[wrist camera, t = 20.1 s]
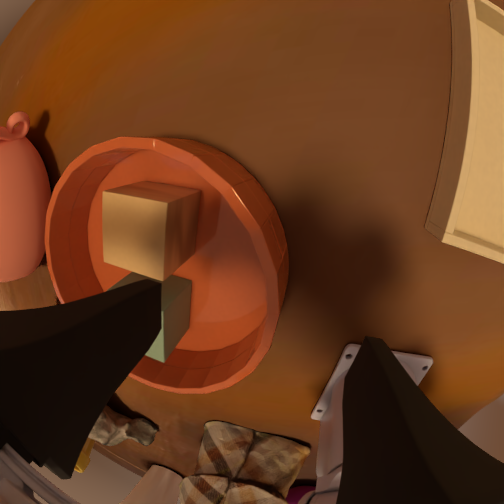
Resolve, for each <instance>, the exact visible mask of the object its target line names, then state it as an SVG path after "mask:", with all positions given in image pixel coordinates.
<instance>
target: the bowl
mask: <svg viewBox="0 0 504 504" xmlns="http://www.w3.org/2000/svg"><path fill="white" fill-rule="evenodd" d="M141 181H150V182H156V183H162V184H168V185H174V186H180V187H186V188H191V189H197V190H201V198H200V206H199V215H198V224H197V233H196V243H195V254H194V255H193V256H192V257H190V258H189V259H188V260H187V261H186V262H185V263H184V264H182V265H181V266H180V267H179V268H178V269H177V270H176V271H175V272H173V273H172V274H171V275H174V276H178V277H181V278H184V279H188V280H191V281H192V287H191V301H190V317H189V329H188V330H187V332H186V333H185V334H184V336H183V337H182V339H181V340H180V341H179V343H178V344H177V346H176V347H175V348H174V350H173V351H172V353H171V354H170V355H169V357H168V358H167V360H166V361H165V362H161V361H158V360H156V359H153V358H151V357H148V356H146V355H144V357H143V358H142V359H141V360H140V362H139V363H138V364H137V365H136V366H135V368H134V369H133V370H132V371H131V372H130V374H129V375H128V376H129V377H131V378H133V379H135V380H137V381H140V382H142V383H144V384H146V385H149V386H151V387H154V388H157V389H161V390H165V391H170V392H174V393H180V394H205V393H210V392H214V391H217V390H221V389H225V388H228V387H230V386H233V385H234V384H236V383H237V382H239V381H240V380H242V379H243V378H245V377H246V376H248V375H249V374H251V373H252V372H253V371H254V370H255V369H256V367H257V366H258V364H259V363H260V362H261V360H262V359H263V358H264V356H265V355H266V353H267V352H268V351H269V349H270V347H271V344H272V341H273V337H274V334H275V330H276V326H277V323H278V319H279V315H280V311H281V307H282V303H283V299H284V295H285V291H286V287H287V283H288V278H289V272H288V271H289V256H288V248H287V241H286V237H285V233H284V230H283V226H282V223H281V221H280V218H279V216H278V213H277V211H276V209H275V207H274V205H273V203H272V202H271V200H270V198H269V197H268V195H267V193H266V192H265V190H264V189H263V188H262V187H261V185H260V184H259V183H258V182H257V180H256V179H255V178H254V177H253V176H252V175H251V174H250V173H249V172H248V171H247V170H246V169H245V168H244V167H243V166H242V165H241V164H239V163H238V162H237V161H235V160H234V159H232V158H231V157H230V156H228V155H227V154H225V153H223V152H221V151H219V150H217V149H215V148H213V147H211V146H209V145H206V144H203V143H200V142H197V141H194V140H189V139H180V138H167V137H118V138H115V139H111V140H108V141H105V142H102V143H99V144H96V145H93V146H91V147H90V148H89V149H87V150H86V151H85V152H83V153H82V154H81V155H80V156H78V157H77V158H76V159H75V160H74V161H72V162H71V163H70V164H69V165H68V167H67V168H66V170H65V171H64V173H63V174H62V176H61V178H60V179H59V181H58V182H57V184H56V185H55V188H54V190H53V193H52V196H51V200H50V203H49V206H48V209H47V214H46V224H45V249H46V257H47V264H48V270H49V273H50V276H51V279H52V282H53V286H54V289H55V291H56V294H57V296H58V298H59V300H60V302H61V304H64V303H68V302H72V301H76V300H79V299H82V298H86V297H89V296H93V295H96V294H99V293H102V292H106V291H107V290H108V289H109V288H110V287H112V286H113V285H114V284H116V283H117V282H119V281H120V280H121V279H123V278H124V277H125V276H127V275H128V274H130V273H131V272H132V271H129V270H126V269H123V268H120V267H118V266H115V265H112V264H109V263H106V262H104V257H103V232H102V199H103V191H105V190H109V189H112V188H116V187H120V186H124V185H128V184H132V183H137V182H141Z"/></svg>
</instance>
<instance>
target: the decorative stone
mask: <svg viewBox="0 0 504 504" xmlns="http://www.w3.org/2000/svg"><path fill="white" fill-rule="evenodd" d="M156 431H157V427H156V426H155V425H154V424H152V423H151V422H149V421H147V420H146V419H144V418H136V419H133V420H132V419H131V418H129V417H127V416H125V415H122V414H119V413H117V412H115V411H113V410H112V409H110V408H109V407H108V406H107V405H106V406H105V408H104V409H103V411H102V413H101V414H100V416H99V418H98V420H97V421H96V423H95V425H94V427H93V429H92V430H91V432H90V434H89V436H88V438H91V439H93V440H96V441H98V442H100V443H102V444H103V445H107V446H113V445H117V444H119V443H121V442H122V441H123V440H125V439H128V438H129V439H133V440H135V441H136V442H139V443H141V444H143V445H145V446H148V445H150V444H151V443H152V442H153V441H154V437H155V433H156Z"/></svg>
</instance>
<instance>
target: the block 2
mask: <svg viewBox="0 0 504 504" xmlns="http://www.w3.org/2000/svg"><path fill="white" fill-rule="evenodd" d="M144 279H150V280H153V281H156V282H159V283H162V297H161V309H162V329H161V331H160V332H159V334H158V336H157V338H156V339H155V341H154V343H153V344H152V346H151V347H150V349H149V350H148V352H147V353H146V354H145V355H146V356H148V357H151V358H153V359H156V360H158V361H161V362H165V361H166V360H167V358H168V357H169V355H170V354H171V353H172V351H173V350H174V348H175V347H176V346H177V344H178V343H179V341H180V340H181V339H182V337H183V336H184V334H185V333H186V332H187V330H188V329H189V317H190V301H191V287H192V281H191V280H188V279H184V278H181V277H178V276H174V275H170V276H169V277H168V278H167V279H166V280H164V281H160V280H157V279H154V278H151V277H148V276H145V275H141V274H138V273H135V272H131V273H130V274H128V275H127V276H125V277H124V278H123V279H121V280H120V281H119V282H117V283H116V284H114V285H113V286H112V287H110V288H109V289H108V290H107V291H109V290H112V289H115V288H118V287H121V286H124V285H127V284H130V283H133V282H136V281H140V280H144Z"/></svg>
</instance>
